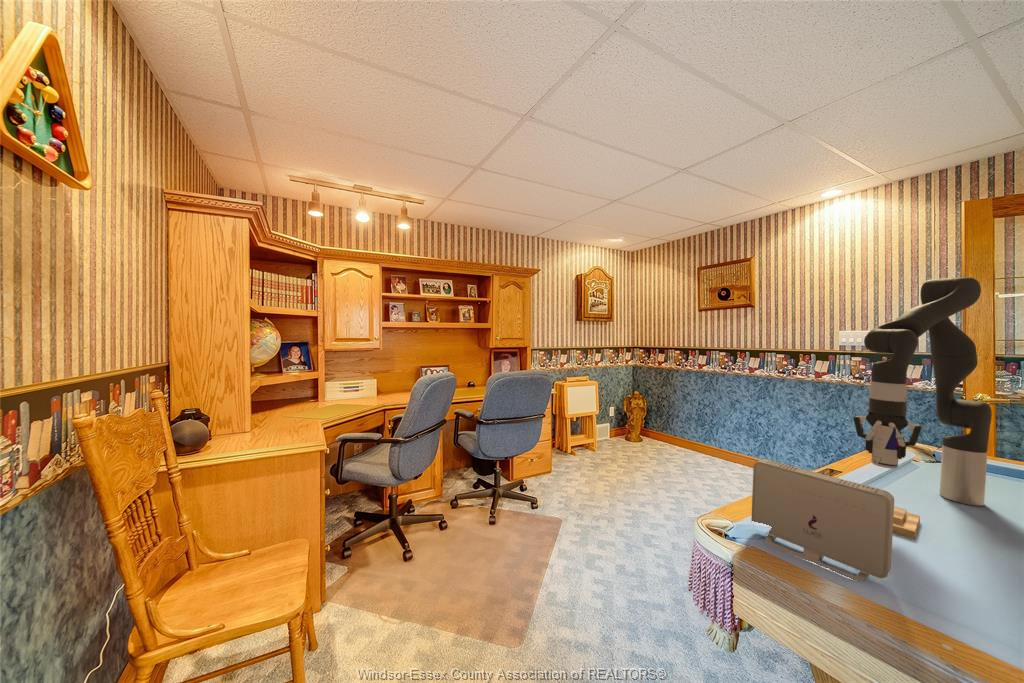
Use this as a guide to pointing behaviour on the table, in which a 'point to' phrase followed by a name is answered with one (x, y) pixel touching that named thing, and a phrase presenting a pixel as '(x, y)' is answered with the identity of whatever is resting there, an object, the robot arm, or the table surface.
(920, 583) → the table surface
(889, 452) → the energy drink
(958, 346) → the robot arm
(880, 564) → the network device
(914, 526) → the plinth
